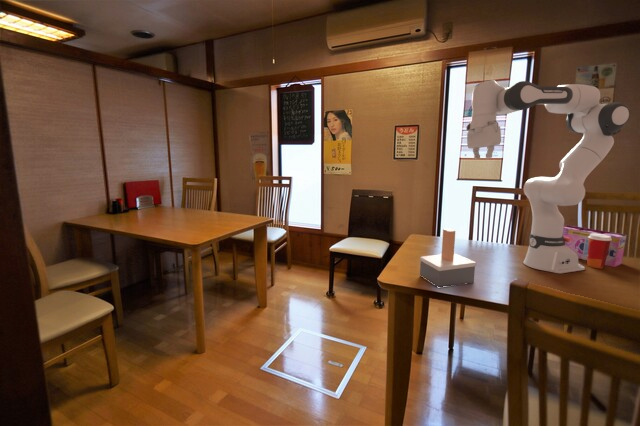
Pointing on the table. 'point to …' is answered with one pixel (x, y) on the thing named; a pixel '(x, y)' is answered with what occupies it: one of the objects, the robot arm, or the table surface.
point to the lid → (447, 255)
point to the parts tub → (447, 275)
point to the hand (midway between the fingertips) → (482, 158)
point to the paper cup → (598, 250)
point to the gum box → (582, 240)
